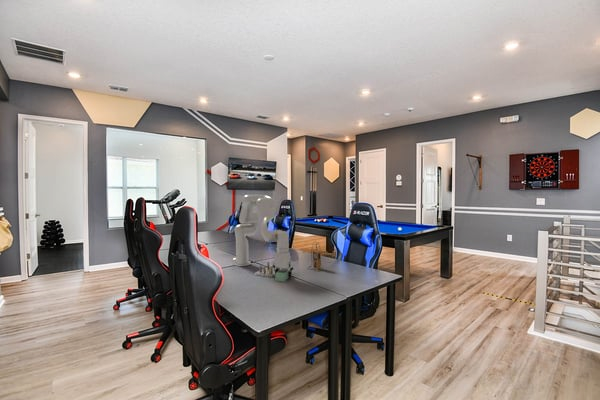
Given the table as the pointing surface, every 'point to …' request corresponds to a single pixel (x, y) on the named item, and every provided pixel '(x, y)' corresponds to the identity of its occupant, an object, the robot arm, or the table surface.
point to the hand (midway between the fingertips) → (283, 276)
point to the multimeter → (316, 258)
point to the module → (281, 275)
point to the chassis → (266, 271)
